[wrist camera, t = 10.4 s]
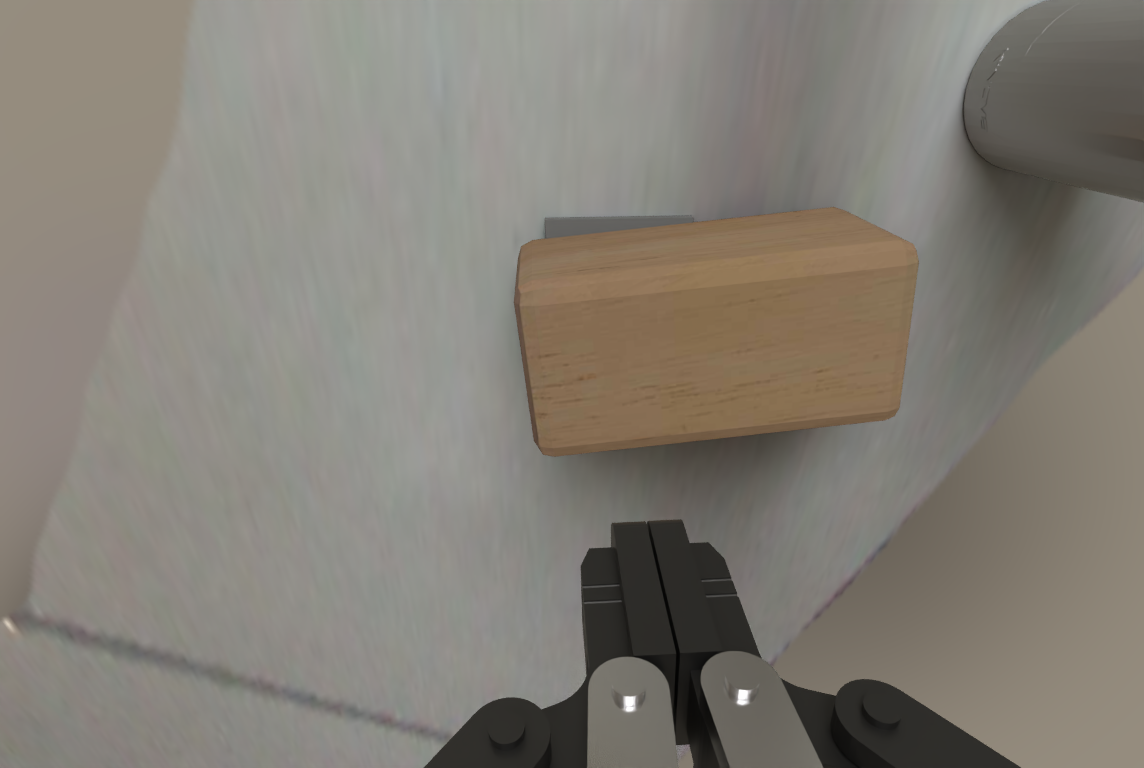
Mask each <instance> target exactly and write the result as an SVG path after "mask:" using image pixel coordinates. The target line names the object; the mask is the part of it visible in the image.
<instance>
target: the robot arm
mask: <svg viewBox="0 0 1144 768" xmlns="http://www.w3.org/2000/svg"><path fill="white" fill-rule="evenodd" d="M964 120H965V127H966V130H967V133H968V137H969V140H970V141H971V143H972V144H973V146H974V148H975V149H976V151H977V152H978V153H979V154H980V155H981V156H982V157H983V158H984V159H985V160H986V161H987V162H989V163H991V164H993V165H995V166H997V167H999V168H1003V169H1007V170H1011V171H1015V172H1019V173H1023V174H1027V175H1032V176H1036V177H1040V178H1044V179H1047V180H1051V181H1055V182H1059V183H1063V184H1068V185H1072V186H1076V187H1080V188H1085V189H1089V190H1093V191H1097V192H1101V193H1106V194H1110V195H1114V196H1118V197H1123V198H1127V199H1131V200H1135V201H1140V202H1144V0H1048V1H1043V2H1041V3H1039V4H1037V5H1035V6H1032V7H1030V8H1028V9H1026V10H1024V11H1023V12H1021V13H1020V14H1019V15H1017V16H1016V17H1014V18H1013V19H1011V20H1010V21H1009V22H1008V23H1007V24H1006V25H1005V26H1004V27H1003V28H1002V29H1001V30H1000V31H998V32H997V33H996V34H995V35H994V37H993V38H992V39H991V41H990V42H989V43H988V45H987V46H986V47H985V49H984V50H983V51H982V53H981V55H980V57H979V59H978V60H977V62H976V64H975V66H974V68H973V70H972V73H971V76H970V79H969V82H968V85H967V88H966V94H965V101H964ZM581 591H582V622H583V635H584V649H585V662H586V675H587V676H586V679H585V681H584V683H583V684H582V686H581V687H580V688H579V689H578V691H577V692H576V693H574V694H573V695H572V696H571V697H569V698H568V699H566V700H565V701H562V702H560V703H558V704H555V705H553V706H550V707H547V708H545V709H542V710H541V709H540V708H539V707H538V706H537V705H535V704H534V703H532V702H530V701H528V700H525V699H521V698H502V699H498V700H495V701H492V702H490V703H488V704H486V705H485V706H483V707H482V708H480V709H479V710H478V711H477V712H476V713H475V714H474V715H473V716H472V717H471V718H470V719H469V720H468V721H467V723H466V724H465V725H464V726H463V727H462V728H461V729H460V730H459V731H458V732H457V733H456V734H455V735H454V736H453V737H452V738H451V739H450V741H449V742H448V743H447V744H446V745H445V746H444V747H443V748H442V749H441V750H440V751H439V752H438V753H437V754H436V755H435V756H434V757H433V759H432V760H431V761H430V762H429V763H428V764H427V765H426V766H425V767H424V768H679V766H678V758H677V749H676V745H686V744H690V749H691V753H692V758H693V763H694V766H693V768H1021V767H1019V766H1018V765H1016V764H1015V763H1013V762H1011V761H1010V760H1008V759H1007V758H1005V757H1004V756H1002V755H1000V754H999V753H997V752H996V751H994V750H993V749H991V748H989V747H988V746H986V745H985V744H983V743H982V742H980V741H979V740H977V739H976V738H974V737H972V736H971V735H969V734H968V733H966V732H964V731H963V730H961V729H960V728H958V727H957V726H955V725H954V724H952V723H951V722H949V721H947V720H946V719H944V718H943V717H941V716H940V715H938V714H936V713H935V712H933V711H932V710H930V709H929V708H927V707H926V706H924V705H922V704H921V703H919V702H918V701H916V700H915V699H913V698H911V697H910V696H908V695H907V694H905V693H904V692H902V691H901V690H899V689H897V688H895V687H893V686H891V685H889V684H886V683H883V682H880V681H876V680H869V679H861V680H855V681H851V682H849V683H847V684H845V685H844V686H843V687H842V688H841V689H840V690H839V691H838V693H837V695H836V696H834V695H830V694H825V693H821V692H816V691H812V690H808V689H804V688H800V687H797V686H794V685H792V684H790V683H788V682H786V681H785V680H783V679H781V678H780V677H779V675H778V673H777V672H776V671H775V669H774V668H773V667H772V666H771V665H770V664H768V663H767V662H766V661H764V660H763V659H762V658H761V656H760V654H759V651H758V649H757V646H756V643H755V640H754V638H753V635H752V632H751V630H750V627H749V624H748V621H747V619H746V616H745V613H744V611H743V608H742V605H741V603H740V600H739V597H737V592H736V589H735V586H734V584H733V581H731V575H730V573H729V570H728V567H727V565H726V562H725V559H724V558H723V557H722V556H721V555H720V554H719V553H718V552H717V551H716V550H715V549H714V548H713V547H712V546H711V545H710V544H709V543H708V542H707V543H689V540H688V537H687V533H686V530H685V527H684V524H683V521H682V520H661V521H648V522H647V524H646V522H645V521H644V522H623V523H612V525H611V548H591V549H589V550H588V552H587V554H586V556H585V558H584V560H583V562H582V565H581Z"/></svg>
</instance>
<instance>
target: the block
mask: <svg viewBox="0 0 1144 768" xmlns="http://www.w3.org/2000/svg"><path fill="white" fill-rule="evenodd" d="M918 264H919V261H918V256H917V251H916V249H915V247H914V245H913V244H912V243H910V242H908V241H906V240H904V239H902V238H900V237H898V236H896V235H894V234H892V233H890V232H888V231H885V230H883V229H881V228H879V227H877V226H875V225H873V224H871V223H869V222H867V221H865V220H863V219H861V218H859V217H857V216H855V215H853V214H851V213H849V212H847V211H844V210H841V209H838V208H835V207H830V208H821V209H812V210H803V211H794V212H785V213H775V214H766V215H757V216H748V217H739V218H730V219H721V220H712V221H702V222H693V223H684V224H675V225H666V226H657V227H648V228H639V229H630V230H620V231H611V232H602V233H593V234H584V235H575V236H566V237H557V238H548V239H538V240H532V241H530V242H528V243H526V244H525V245H523V246H521V249H520V253H519V257H518V264H517V275H516V286H515V297H514V305H515V312H516V319H517V326H518V333H519V340H520V347H521V354H522V361H523V368H524V375H525V382H526V389H527V396H528V402H529V409H530V416H531V423H532V430H533V437H534V441H535V443H536V444H537V446H538V448H539V449H540V451H541V452H542V454H543V455H548V456H554V457H555V456H564V455H573V454H582V453H591V452H600V451H609V450H618V449H628V448H637V447H646V446H655V445H664V444H673V443H682V442H691V441H700V440H710V439H719V438H728V437H737V436H746V435H755V434H764V433H773V432H783V431H792V430H801V429H810V428H819V427H828V426H837V425H846V424H856V423H865V422H874V421H883V420H887V419H889V418H891V417H893V416H895V414H896V412H897V411H898V409H899V407H900V399H901V392H902V384H903V377H904V369H905V362H906V354H907V347H908V339H909V332H910V324H911V317H912V309H913V302H914V294H915V287H916V279H917V272H918Z"/></svg>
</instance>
